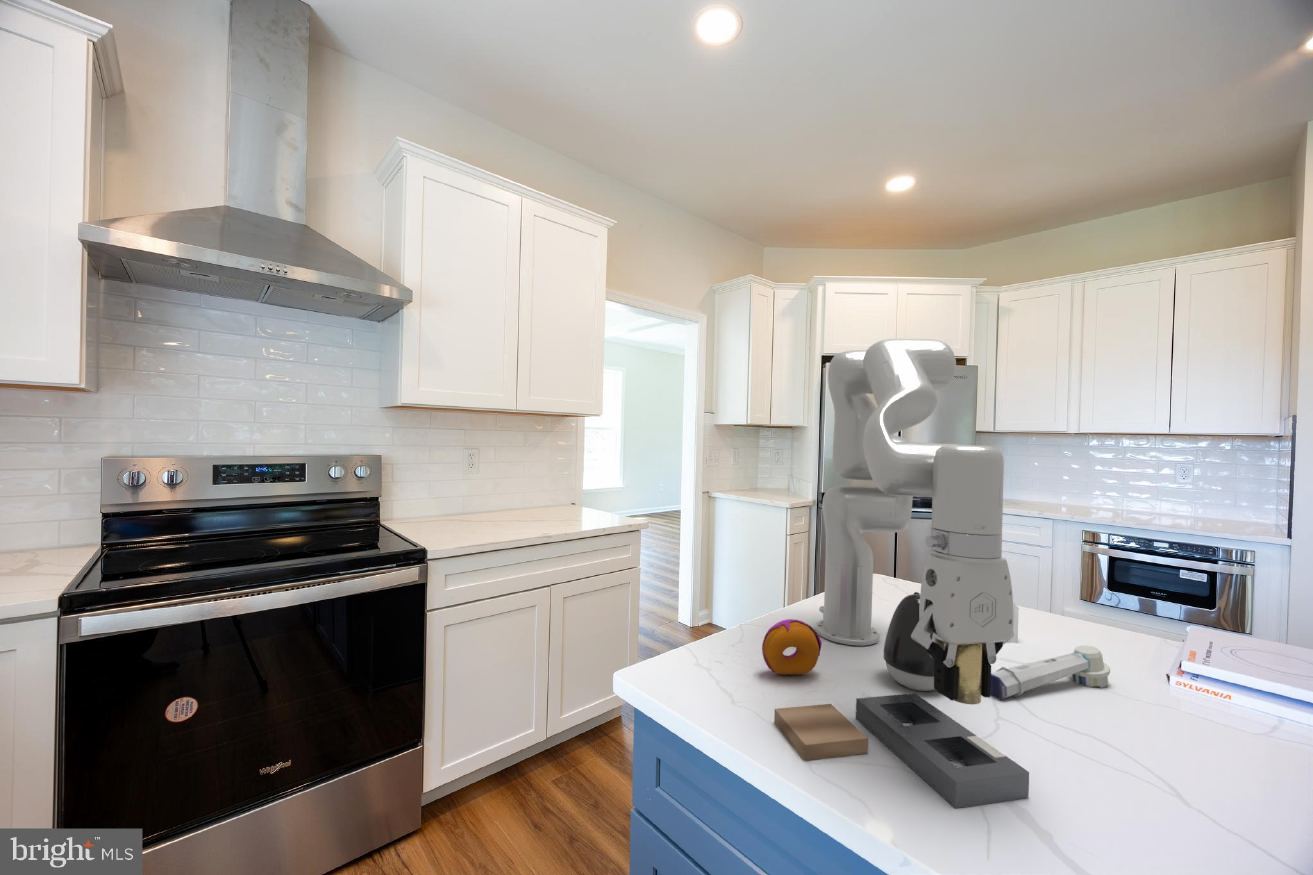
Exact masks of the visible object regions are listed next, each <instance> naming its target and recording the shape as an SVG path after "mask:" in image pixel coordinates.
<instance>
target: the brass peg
mask: <svg viewBox="0 0 1313 875" xmlns="http://www.w3.org/2000/svg"><path fill="white" fill-rule="evenodd" d="M945 645H946V643H945ZM954 666H955V667H957V668H958V698H957V700H953V701H955V702H957V703H960V704H965V705H979V704H980V703H981V702H982V695H981V681H982V643H979V644H962V645H957V651H956V656H955V661H954Z"/></svg>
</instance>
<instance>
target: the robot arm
mask: <svg viewBox="0 0 1313 875" xmlns="http://www.w3.org/2000/svg"><path fill="white" fill-rule="evenodd" d="M828 366H829V367H828V371H827V383H828V389H829V394H830V398H831V400H832V405H833V411H834V424H833V425H834V427H833V444H832V445H833V446H832V469H833V472H834V474H835V475H837V477H839V478H842V479H845V480H853V481H854V480H855V481H872V482H873V484H874V485H875V486H870V485H868V486H867V485H850V484H849V485H848V484H847V485H846V484H844V485H837V486H833V487H831V488H829V489H828V490H827V491H825V493H824V495H823V498H822V513H823V522H824V531H825V565H824V566H825V567H824V570H825V571H824V595H823V596H824V599H823V600H824V601H823V606H822V605H821V606H820V607H819V609H818V611H819V612H820V613H822V620H821V621H818V622H817V623H816V624H815V632H816V633H817V635H818V636H819V637H821V638H823V639H826V640H828V641H831V642H834V643H838V644H843V645H846V646H847V645H848V646H858V647H860V646H862V647H863V646H871V645H874V644H876V643H878V642H879V640H880V633H879V631H878V630H876V629H875V628H874V627H872V618H873V617H872V615H873V614H872V612H873V587H874V586H873V583H874V581H873V580H874V554H873V550H872V548H871V546H870V544H868V542H867V540H865V538H864V537H863V536H862V533H868V532H869V533H870V532H871V533H873V532H875V533H899V532H903V531H905V530H906V529H907V528H908V527H909V525H910V523H911V518H912V512H913V499H914V497H917V498H918V497H919V498H931V504H932V505H931V532H930V533H931V535H928V536H926V538H925V544H926V546H927V547H928V548H930V553H929V552H928V553H927V555H926V559H925V563H924V568H923V573H922V578H921V585H920V592H919V594H920V605H919V622H918V624H917V625H916V627H915V629H914V631H913V632H912V634H911V638H912V639H913V640H914V641H915V642H917V643H918V644H920V645H921V646H923V647H924V648H925V650H926V651H927V652H928V653H929V655H930V657H931V658H933V659H934V690H935V691H936V692H937V693H939V694H940V695H942V696H944V697H945V698H947V699H948V700H950V701H954V700H957V698H958V668H957V667H955V666H954V661H955V656H956V651H957V645H962V644H979V643H982V681H981V697H983V698H990V697H991V696H992V695H991V673H992V665H994V664H996V662H997V654H999V652H1000V651H1001V649H1002V648H1003V646H1004V645H1005V644H1006V643H1008V642H1007V641H1008V640H1010V639H1011V638H1012V637H1013V635H1014V632H1013V628H1014V613H1013V603H1014V597H1013V586H1012V578H1011V573H1010V568H1009V565H1008V564H1009V563H1008V562H1007V561H1008V560H1007V559H1006V558H1004V557H1002V552H1003V551H1002V550H1003V549H1002V548H1003V516H1004V515H1003V514H1004V513H1003V510H1004V507H1003V506H1004V505H1003V504H1004V471H1005V470H1004V469H1005V467H1004V464H1005V461H1004V460H1005V458H1004V455H1003V454H1002V451H1001V450H999V449H998V448H996V447H993V446H989V445H973V444H967V445H966V444H962V443H961V444H959V443H937V442H936V443H935V442H915V441H913V442H911V441H909V440H908V439H906V438H905V437H902V436H897V435H893V434H896V433H898V432H902V431H905V430H906V429H909V428H912V427H915V426H917V425H920V424H922V422H925V421H926V420H927V419H928V418H929V417H930V416H931V415H932V414H933V413H934V411H935V410H936V408H937V406H938V405H937V404H938V395H937V391H938V390H941V389H943V388H945V387H947V386H948V385H950V383H951V382H952V380H953V378H954V377H955V374H956V370H957V369H956V368H957V360H956V356H955V353H954V351H953V349H952V348H951V346H950V345H948V344H947V343H946V342H944V341H942V340H939V339H928V338H927V339H925V338H924V339H921V338H919V339H918V338H916V339H915V338H888V339H887V338H886V339H882V340H879V341H877V342H874V343H873V344H872V345H871V346H869V347H868V348H867V349H865V350H863V349H860V350H848V351H847V350H846V351H843V352H839V353H836V354H835V355H834V356H833V357H832V359H831V360H830V362H829V365H828ZM867 394H869V395H871V394H872V395H873V396H874V399H875V401H876V405H877V406H875V403H874V402H873V401H872V400H871V398H870V397H869V396H868V395H867ZM931 633H933V636H932V640H931V638H930V634H931ZM943 642H944V643H946V645H945V650H943V649H942V645H943Z"/></svg>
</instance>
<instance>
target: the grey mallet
mask: <svg viewBox="0 0 1313 875" xmlns="http://www.w3.org/2000/svg"><path fill="white" fill-rule="evenodd" d="M1110 673H1111V667H1110V666H1108V664H1106V663H1105V662H1104V658H1103V653H1102V652H1101V650H1100V649H1098V648H1097V647H1095V646H1092V645H1078V646H1076V647H1075V648H1074V650H1073V652H1072V653H1068V654H1067V653H1066V654H1063V655H1058V656H1055V657H1051V658H1046V659H1041V660H1037V661H1034V662H1033V661H1031V662H1029V663H1025V664H1019V665H1015V666H1012V667H1011V666H1010V667H1006V666H1002V667H1000V668H998V669H997V670H996V671H995V672H991V695H990V696H992V697H994V698H996V699H998V700H1003V699H1007V698H1009V697H1014V698H1017V697H1019V696H1021V695H1022V694H1024V692H1026V691H1029V690H1033V689H1035V688H1038V687H1041V686H1044V685H1047V684H1049V683H1050V684H1051V683H1052V682H1054V681H1058V680H1061V679H1063V678H1067V677H1069V676H1070V677H1071V680H1072V681H1073V682H1075V683H1077V684H1078V685H1081V686H1084V687H1089V688H1093V687H1098V688H1100V689H1103V688H1105V687H1108V685H1107V684H1108V683H1109V676H1110Z"/></svg>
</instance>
